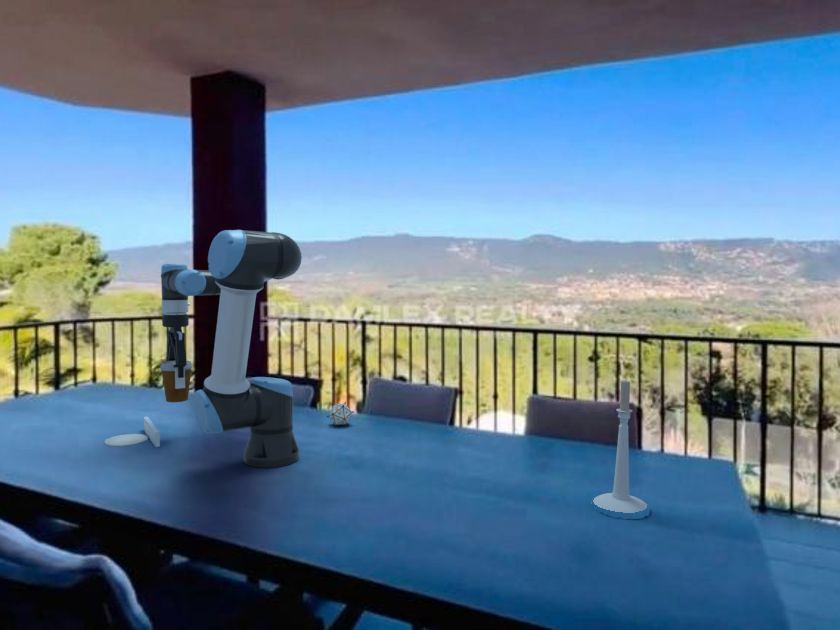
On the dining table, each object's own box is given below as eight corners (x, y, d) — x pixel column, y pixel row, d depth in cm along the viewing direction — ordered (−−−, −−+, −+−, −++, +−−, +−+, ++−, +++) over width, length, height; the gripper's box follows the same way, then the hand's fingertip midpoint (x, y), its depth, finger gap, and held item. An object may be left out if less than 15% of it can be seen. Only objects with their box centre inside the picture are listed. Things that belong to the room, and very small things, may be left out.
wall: (160, 446, 178) (159, 431, 177) (155, 447, 177) (155, 432, 177) (147, 429, 196) (147, 416, 195) (143, 430, 195) (143, 416, 195)
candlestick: (604, 493, 145) (608, 372, 142) (658, 507, 136) (663, 379, 134) (582, 509, 135) (586, 379, 132) (638, 525, 127) (644, 386, 124)
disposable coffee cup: (171, 405, 177) (170, 365, 176) (154, 400, 183) (153, 362, 182) (199, 399, 185) (198, 361, 184) (182, 396, 190) (182, 359, 190)
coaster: (150, 442, 182) (150, 441, 182) (106, 448, 175) (106, 447, 175) (144, 433, 192) (144, 432, 192) (102, 438, 185) (102, 437, 185)
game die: (344, 437, 204) (351, 418, 198) (321, 427, 204) (327, 408, 198) (352, 419, 211) (359, 400, 206) (330, 410, 211) (336, 391, 205)
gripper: (196, 315, 175) (197, 390, 176) (180, 311, 193) (181, 379, 195) (169, 316, 171) (171, 392, 172) (155, 312, 189) (157, 381, 191)
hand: (176, 385), depth 183 cm, fingers closed on disposable coffee cup, 9 cm apart
